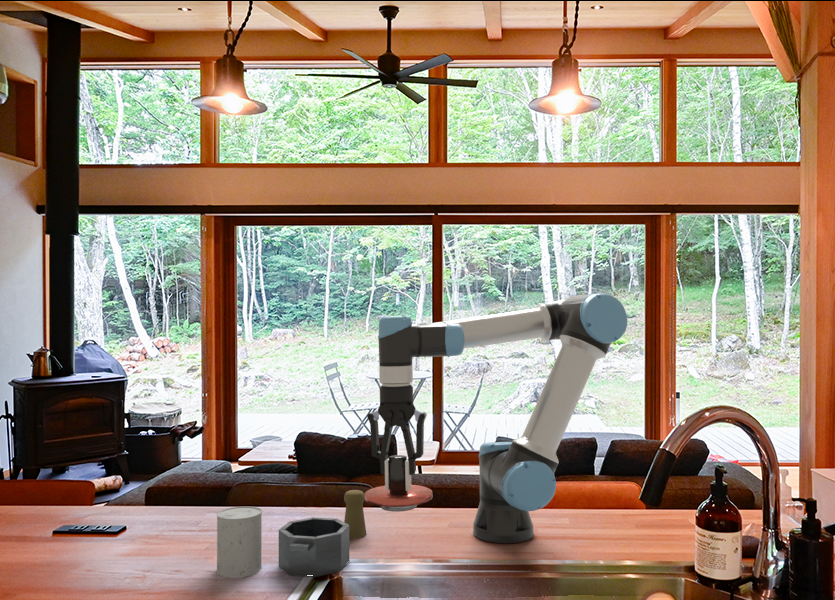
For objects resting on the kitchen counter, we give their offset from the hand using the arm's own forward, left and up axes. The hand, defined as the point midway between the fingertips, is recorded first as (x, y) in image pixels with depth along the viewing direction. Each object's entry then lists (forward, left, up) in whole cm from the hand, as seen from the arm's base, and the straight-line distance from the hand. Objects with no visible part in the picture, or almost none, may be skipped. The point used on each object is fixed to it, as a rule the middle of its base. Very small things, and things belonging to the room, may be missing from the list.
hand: (398, 488), depth 146 cm
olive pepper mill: (+15, -17, -17) cm, 28 cm away
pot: (+18, +4, -16) cm, 25 cm away
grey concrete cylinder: (+33, +10, -17) cm, 39 cm away
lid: (0, 0, -4) cm, 4 cm away
